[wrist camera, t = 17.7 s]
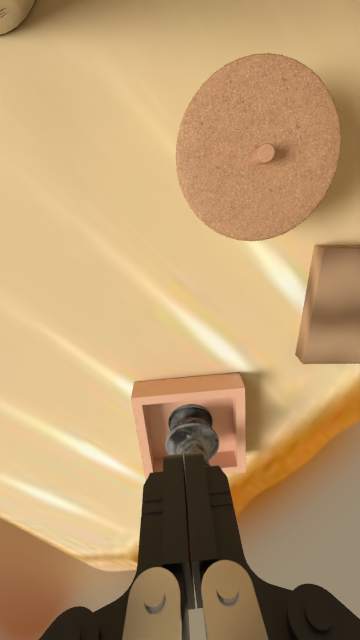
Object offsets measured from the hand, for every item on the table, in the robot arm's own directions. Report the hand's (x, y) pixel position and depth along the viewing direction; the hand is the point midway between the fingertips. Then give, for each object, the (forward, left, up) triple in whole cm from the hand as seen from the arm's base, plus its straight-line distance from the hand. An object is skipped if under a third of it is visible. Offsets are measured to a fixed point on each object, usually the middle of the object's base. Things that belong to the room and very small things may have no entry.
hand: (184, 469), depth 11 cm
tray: (+16, 0, -21) cm, 26 cm away
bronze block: (+2, +17, -22) cm, 28 cm away
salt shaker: (+15, 0, -21) cm, 26 cm away
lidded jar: (-12, +6, -21) cm, 25 cm away
